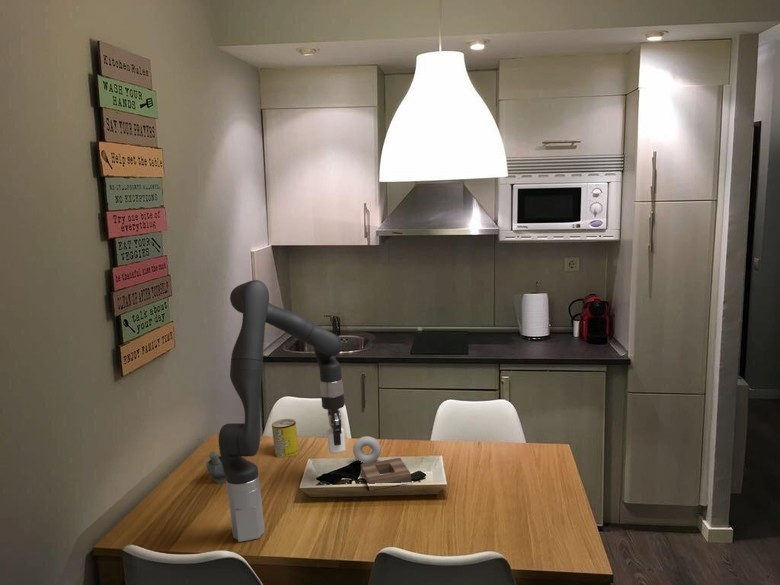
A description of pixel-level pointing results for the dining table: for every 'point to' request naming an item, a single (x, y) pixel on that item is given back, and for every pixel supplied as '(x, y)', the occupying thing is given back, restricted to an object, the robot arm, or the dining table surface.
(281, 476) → the dining table surface
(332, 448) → the eye dropper bottle
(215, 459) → the mortar and pestle
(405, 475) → the walnut socket block
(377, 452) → the donut
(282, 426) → the beverage can
